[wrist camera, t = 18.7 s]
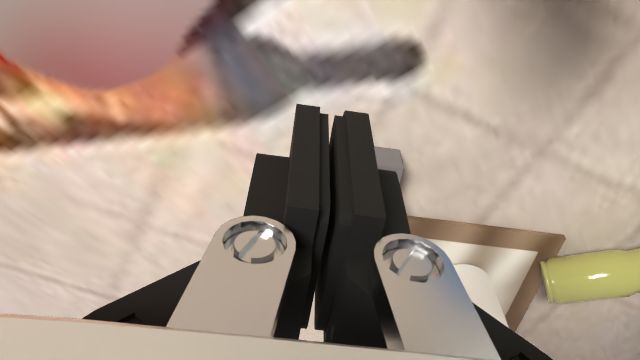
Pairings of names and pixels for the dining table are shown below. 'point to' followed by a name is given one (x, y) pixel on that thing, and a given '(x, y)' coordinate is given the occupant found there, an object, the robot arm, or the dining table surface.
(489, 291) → the can
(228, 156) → the dining table surface
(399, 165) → the button base
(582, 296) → the cannon
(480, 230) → the sketch board
